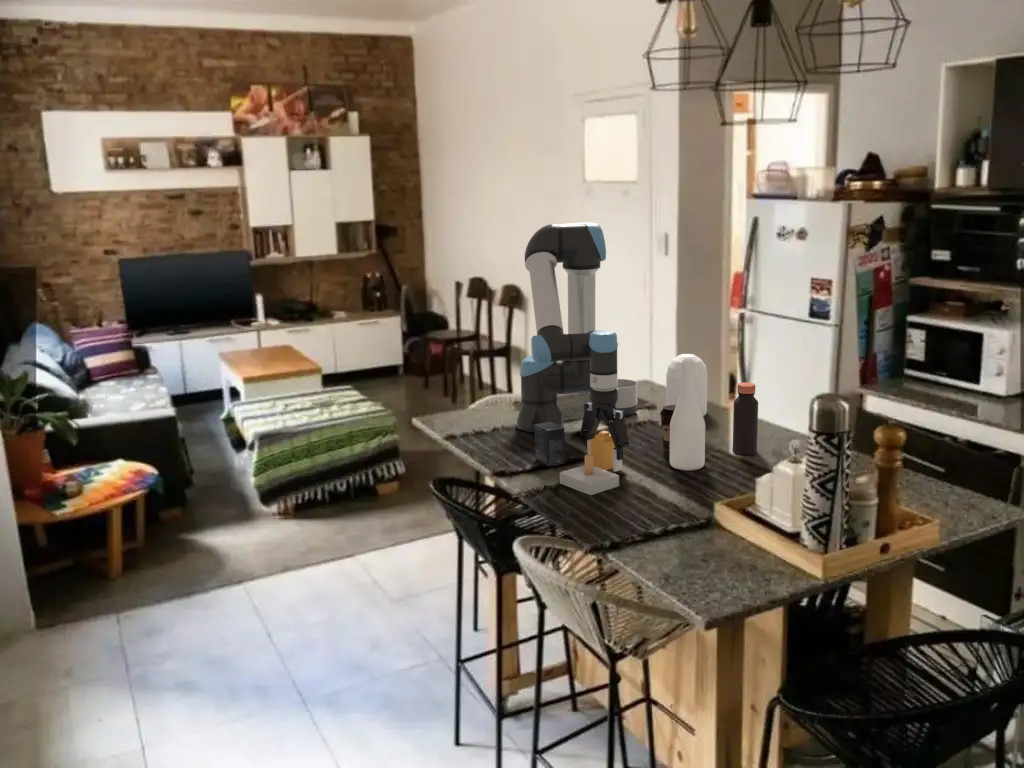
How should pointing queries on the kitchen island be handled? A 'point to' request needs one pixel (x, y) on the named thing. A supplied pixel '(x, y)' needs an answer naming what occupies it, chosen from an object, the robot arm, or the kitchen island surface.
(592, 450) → the orange stepped block
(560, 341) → the robot arm
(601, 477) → the base with peg
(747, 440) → the vinegar
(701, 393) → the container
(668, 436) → the coffee cup
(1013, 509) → the kitchen island surface
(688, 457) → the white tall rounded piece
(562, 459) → the box
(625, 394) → the planter
